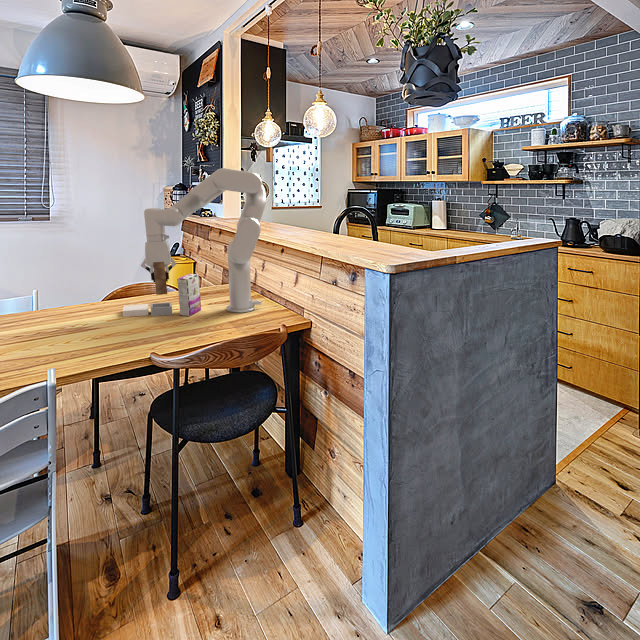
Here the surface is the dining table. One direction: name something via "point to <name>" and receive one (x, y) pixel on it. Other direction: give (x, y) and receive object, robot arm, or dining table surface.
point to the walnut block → (160, 278)
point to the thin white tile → (135, 310)
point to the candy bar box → (189, 294)
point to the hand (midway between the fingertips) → (160, 281)
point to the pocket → (161, 309)
